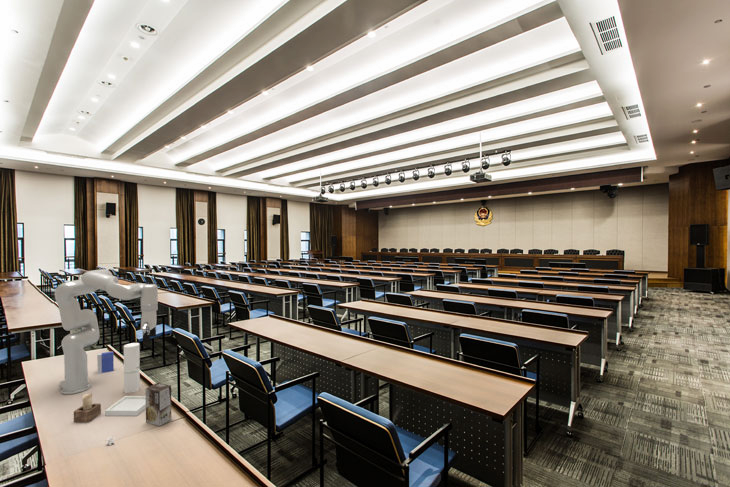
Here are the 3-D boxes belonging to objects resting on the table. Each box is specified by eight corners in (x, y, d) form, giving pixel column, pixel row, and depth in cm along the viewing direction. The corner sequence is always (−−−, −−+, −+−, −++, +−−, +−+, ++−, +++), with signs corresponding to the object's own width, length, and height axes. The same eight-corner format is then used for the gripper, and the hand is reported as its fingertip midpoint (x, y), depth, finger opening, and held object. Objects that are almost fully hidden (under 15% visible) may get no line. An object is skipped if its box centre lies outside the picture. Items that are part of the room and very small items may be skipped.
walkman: (113, 369, 211) (113, 350, 210) (113, 371, 209) (113, 351, 208) (97, 372, 206) (97, 353, 206) (97, 374, 204) (97, 354, 204)
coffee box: (172, 419, 158) (172, 385, 157) (159, 426, 152) (159, 391, 151) (157, 415, 161) (157, 382, 160) (145, 422, 155) (144, 388, 154)
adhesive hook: (113, 442, 141) (113, 435, 141) (115, 445, 139) (115, 437, 139) (104, 445, 138) (104, 438, 138) (106, 448, 137) (106, 441, 137)
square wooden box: (73, 422, 154) (73, 411, 153) (86, 413, 161) (85, 403, 160) (89, 422, 154) (89, 411, 154) (100, 413, 161) (100, 403, 161)
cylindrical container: (142, 387, 188) (142, 343, 188) (132, 393, 181) (132, 347, 180) (131, 386, 189) (130, 342, 188) (120, 392, 182) (120, 346, 181)
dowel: (80, 420, 156) (80, 396, 155) (86, 415, 159) (86, 393, 158) (88, 420, 156) (88, 396, 155) (94, 416, 159) (93, 393, 159)
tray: (104, 415, 159) (104, 410, 159) (125, 400, 173) (125, 396, 173) (137, 415, 160) (137, 410, 160) (154, 400, 174) (154, 396, 174)
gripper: (146, 304, 187) (147, 334, 187) (135, 311, 170) (135, 345, 171) (162, 303, 189) (162, 333, 189) (152, 311, 172) (152, 344, 173)
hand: (149, 339), depth 180 cm, fingers open, 9 cm apart
